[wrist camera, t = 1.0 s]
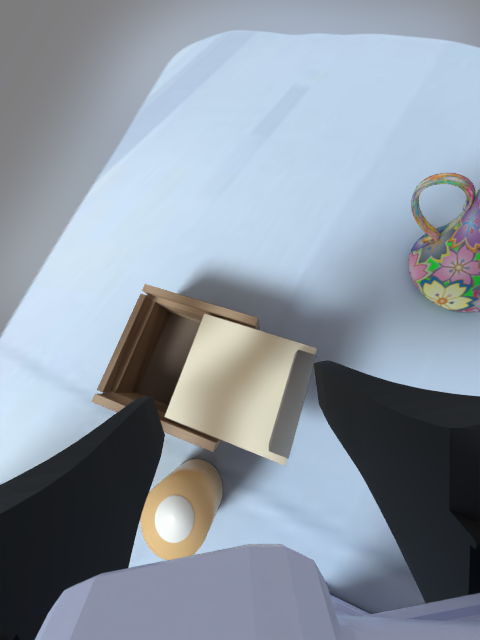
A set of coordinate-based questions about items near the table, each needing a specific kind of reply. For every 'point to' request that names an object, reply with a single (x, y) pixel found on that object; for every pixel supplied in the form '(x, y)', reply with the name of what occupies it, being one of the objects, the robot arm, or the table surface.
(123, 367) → the wooden box
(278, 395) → the lid
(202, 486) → the roll-on deodorant
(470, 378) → the table surface
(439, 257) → the mug
